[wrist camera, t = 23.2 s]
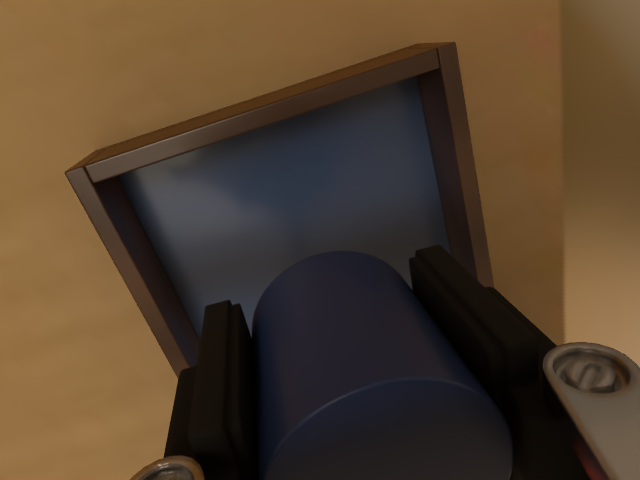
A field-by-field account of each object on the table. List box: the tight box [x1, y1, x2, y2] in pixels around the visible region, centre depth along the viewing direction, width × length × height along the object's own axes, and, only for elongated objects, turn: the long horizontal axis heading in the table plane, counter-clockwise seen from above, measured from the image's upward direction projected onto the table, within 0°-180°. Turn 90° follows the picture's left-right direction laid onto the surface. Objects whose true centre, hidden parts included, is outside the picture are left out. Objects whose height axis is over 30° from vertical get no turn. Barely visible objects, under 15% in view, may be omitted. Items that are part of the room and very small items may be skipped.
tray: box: [65, 42, 494, 379], centre depth 20 cm, size 25×12×3 cm, turn 17°
